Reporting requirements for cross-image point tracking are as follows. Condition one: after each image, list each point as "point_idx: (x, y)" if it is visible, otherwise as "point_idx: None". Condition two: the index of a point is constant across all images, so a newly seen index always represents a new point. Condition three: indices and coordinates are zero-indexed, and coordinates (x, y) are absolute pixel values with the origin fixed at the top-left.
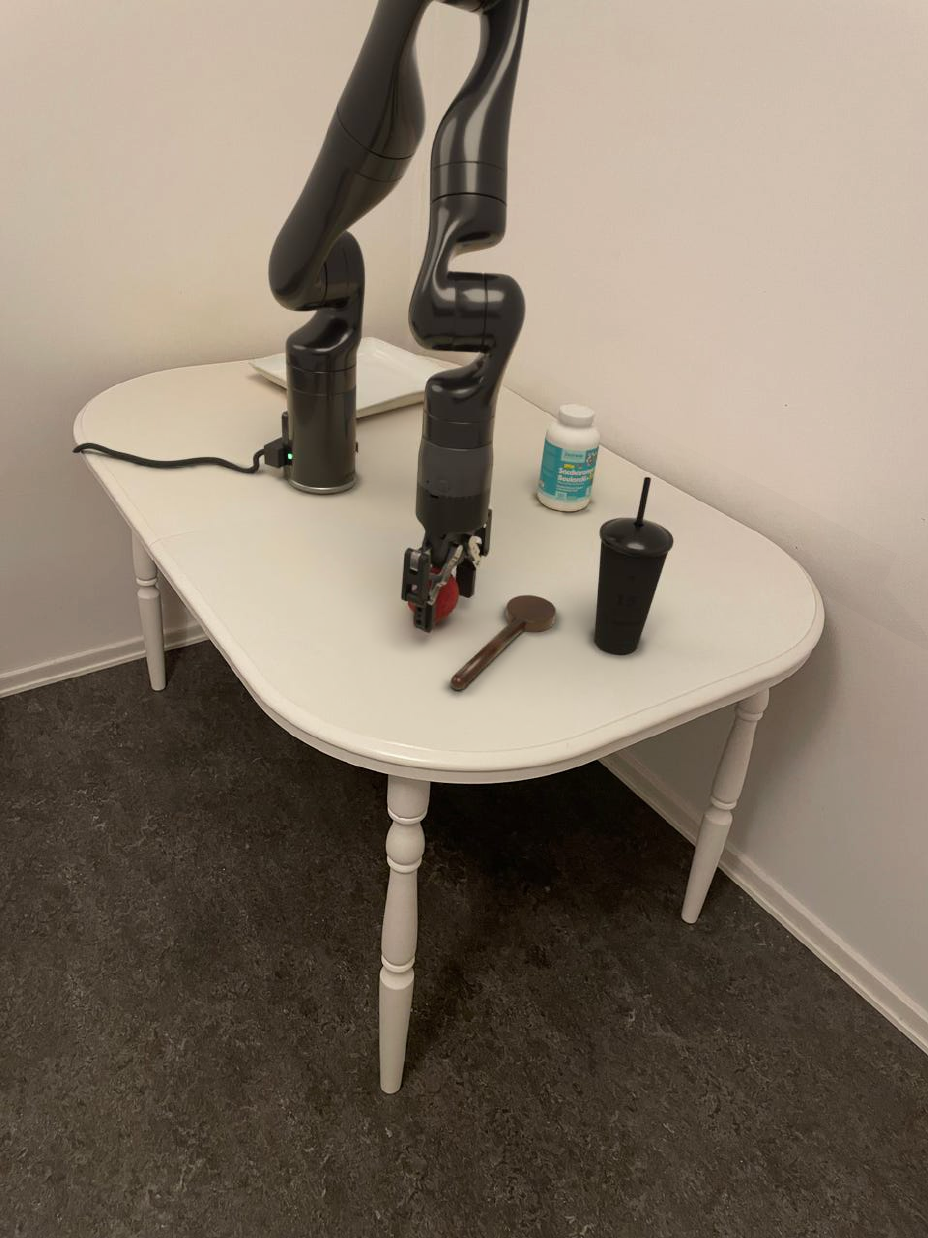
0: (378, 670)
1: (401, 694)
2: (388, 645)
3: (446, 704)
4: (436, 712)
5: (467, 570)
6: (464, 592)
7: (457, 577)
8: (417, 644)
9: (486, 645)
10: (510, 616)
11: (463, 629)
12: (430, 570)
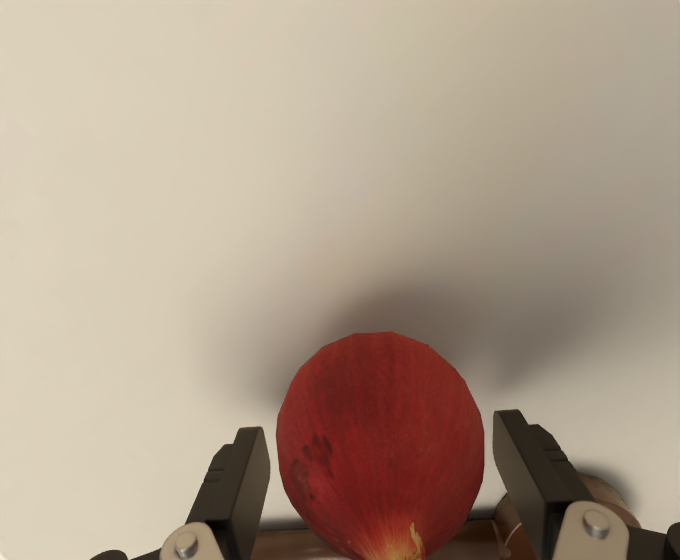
0: (102, 393)
1: (90, 476)
2: (197, 348)
3: (146, 547)
4: (112, 546)
5: (538, 538)
6: (499, 448)
7: (519, 461)
8: (260, 397)
9: (339, 556)
10: (509, 523)
11: None
12: (349, 549)
